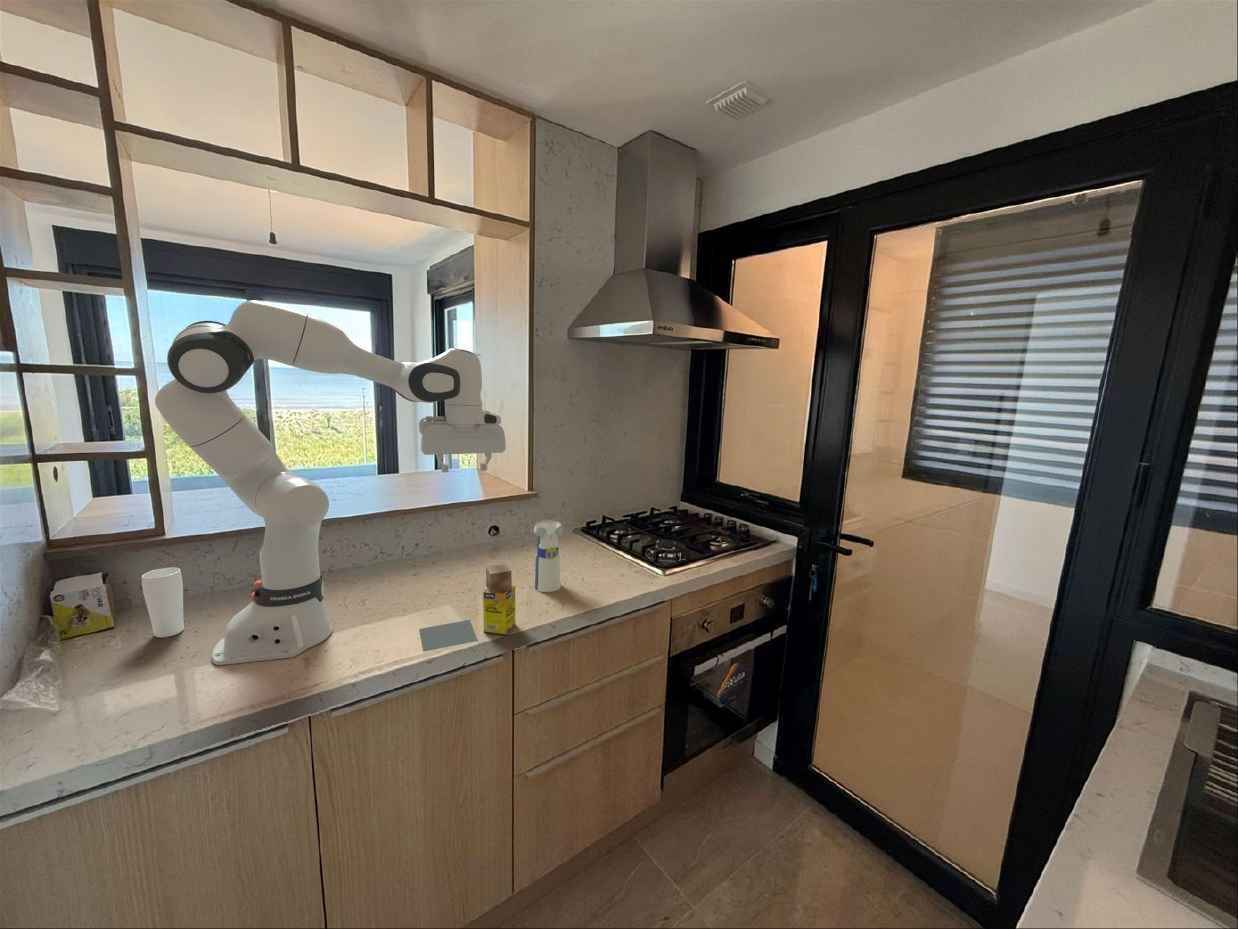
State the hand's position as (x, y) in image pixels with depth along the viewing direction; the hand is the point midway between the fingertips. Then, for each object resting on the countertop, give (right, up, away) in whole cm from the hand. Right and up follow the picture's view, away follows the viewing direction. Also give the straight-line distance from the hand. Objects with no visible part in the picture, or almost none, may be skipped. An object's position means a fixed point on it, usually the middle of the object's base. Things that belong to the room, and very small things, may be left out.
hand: (464, 471), depth 125 cm
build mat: (-2, -39, -7) cm, 40 cm away
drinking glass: (-67, -38, -9) cm, 77 cm away
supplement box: (+10, -39, -3) cm, 41 cm away
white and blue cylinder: (+18, -35, +23) cm, 46 cm away
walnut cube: (+10, -28, -5) cm, 30 cm away
